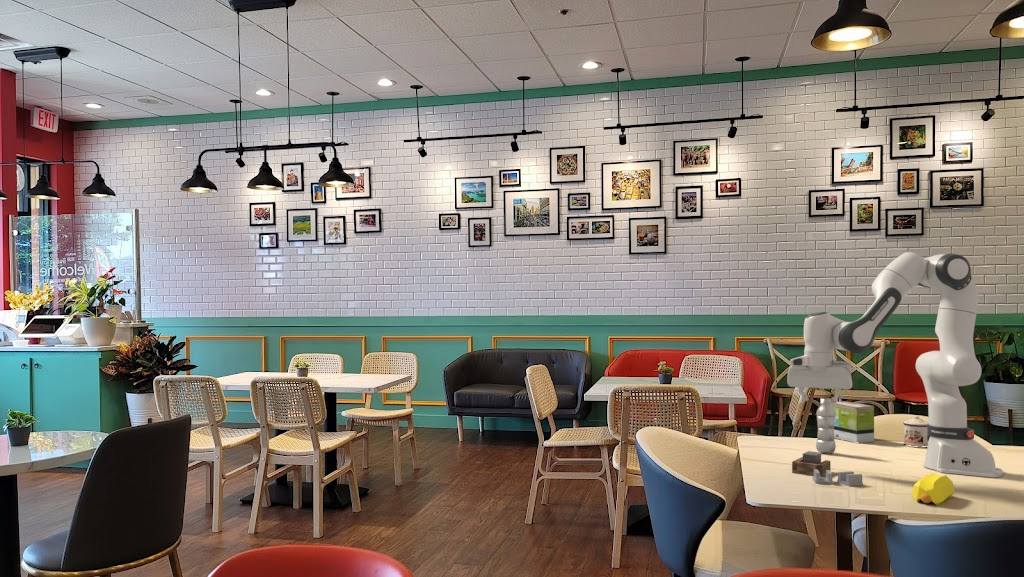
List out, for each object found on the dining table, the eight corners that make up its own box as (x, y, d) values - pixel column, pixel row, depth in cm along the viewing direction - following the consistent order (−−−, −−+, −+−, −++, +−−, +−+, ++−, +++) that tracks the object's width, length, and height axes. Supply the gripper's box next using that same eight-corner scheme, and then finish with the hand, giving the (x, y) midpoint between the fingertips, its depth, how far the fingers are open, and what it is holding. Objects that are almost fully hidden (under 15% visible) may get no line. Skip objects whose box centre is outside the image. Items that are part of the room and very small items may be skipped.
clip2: (830, 480, 224) (830, 470, 225) (833, 484, 220) (833, 473, 220) (812, 479, 226) (812, 469, 226) (815, 483, 221) (815, 472, 221)
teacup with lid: (899, 445, 286) (899, 415, 286) (908, 443, 292) (907, 413, 293) (933, 450, 277) (933, 419, 278) (941, 447, 284) (941, 417, 284)
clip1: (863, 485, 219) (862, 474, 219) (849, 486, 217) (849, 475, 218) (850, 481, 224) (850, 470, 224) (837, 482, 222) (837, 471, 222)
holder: (830, 471, 237) (830, 460, 237) (821, 476, 230) (821, 465, 230) (802, 467, 243) (802, 457, 243) (792, 472, 235) (792, 461, 235)
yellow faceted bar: (957, 497, 207) (927, 492, 212) (957, 473, 207) (927, 468, 212) (940, 508, 194) (908, 503, 199) (940, 483, 194) (908, 478, 199)
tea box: (827, 437, 304) (827, 401, 304) (844, 436, 308) (844, 400, 308) (857, 443, 290) (856, 406, 290) (875, 442, 294) (875, 405, 294)
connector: (824, 466, 241) (824, 450, 241) (815, 471, 233) (815, 455, 233) (812, 464, 243) (812, 449, 244) (802, 469, 236) (802, 453, 236)
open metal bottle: (818, 450, 273) (818, 397, 274) (837, 453, 269) (837, 398, 270) (814, 453, 268) (813, 398, 269) (833, 455, 264) (833, 400, 265)
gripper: (854, 360, 241) (855, 402, 241) (790, 359, 254) (792, 398, 254) (849, 361, 236) (850, 404, 236) (785, 360, 249) (786, 400, 249)
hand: (819, 401), depth 245 cm, fingers open, 8 cm apart
